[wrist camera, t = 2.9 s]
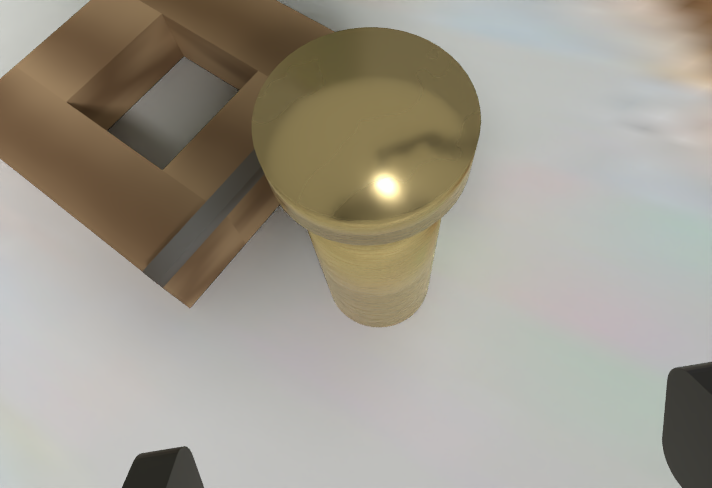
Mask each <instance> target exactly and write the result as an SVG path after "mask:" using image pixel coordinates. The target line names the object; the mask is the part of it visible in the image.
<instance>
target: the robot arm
mask: <svg viewBox="0 0 712 488" xmlns="http://www.w3.org/2000/svg"><path fill="white" fill-rule="evenodd" d="M662 444H663V451H664V455H665V458H666V461H667V464H668V466H669V468H670V470H671V472H672V474H673V476H674V477H675V479H676V480H677V481H678V483H679V484H680V485H681V487H682V488H712V362H708V363H702V364H696V365H689V366H683V367H677V368H674V369H672V370H671V371H670V373H669V375H668V379H667V390H666V401H665V413H664V424H663V436H662ZM122 488H204V486H203V483H202V480H201V478H200V475H199V472H198V469H197V466H196V463H195V461H194V458H193V455H192V453H191V451H190V449H189V448H188V447H185V446H184V447H177V448H171V449H165V450H159V451H153V452H147V453H141V454H139V455H138V456H137V457H136V458H135V460H134V462H133V464H132V466H131V468H130V470H129V473H128V475H127V477H126V480H125V482H124V484H123V487H122Z"/></svg>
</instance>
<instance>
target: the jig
mask: <svg viewBox="0 0 712 488" xmlns="http://www.w3.org/2000/svg"><path fill="white" fill-rule="evenodd" d="M331 33H334V31H332V30H331V29H329V28H327V27H325V26H323V25H321V24H319V23H318V22H316V21H314V20H312V19H310V18H308V17H306V16H305V15H303V14H301V13H299V12H297V11H295V10H293V9H291V8H290V7H288V6H286V5H284V4H282V3H280V2H278V1H277V0H90V1H89V2H88V3H87V4H86V5H85V6H84V7H82V8H81V9H80V10H79V11H78V12H77V13H75V14H74V15H73V16H72V17H71V18H70V19H69V20H67V21H66V22H65V23H64V24H63V25H62V26H61V27H59V28H58V29H57V30H56V31H55V32H54V33H52V34H51V35H50V36H49V37H48V38H47V39H46V40H44V41H43V42H42V43H41V44H40V45H39V46H38V47H36V48H35V49H34V50H33V51H32V52H31V53H29V54H28V55H27V56H26V57H25V58H24V59H23V60H21V61H20V62H19V63H18V64H17V65H16V66H14V67H13V68H12V69H11V70H10V71H9V72H8V73H6V74H5V75H4V76H3V77H2V78H1V79H0V159H1V160H3V161H4V162H5V163H6V164H8V165H9V166H10V167H12V168H13V169H14V170H15V171H17V172H18V173H19V174H20V175H22V176H23V177H24V178H25V179H27V180H28V181H29V182H30V183H32V184H33V185H34V186H35V187H37V188H38V189H39V190H40V191H42V192H43V193H44V194H45V195H47V196H48V197H49V198H50V199H52V200H53V201H54V202H56V203H57V204H58V205H59V206H61V207H62V208H63V209H64V210H66V211H67V212H68V213H69V214H71V215H72V216H73V217H74V218H76V219H77V220H78V221H79V222H81V223H82V224H83V225H84V226H86V227H87V228H88V229H89V230H91V231H92V232H93V233H95V234H96V235H97V236H98V237H100V238H101V239H102V240H103V241H105V242H106V243H107V244H108V245H110V246H111V247H112V248H113V249H115V250H116V251H117V252H118V253H120V254H121V255H122V256H123V257H125V258H126V259H127V260H128V261H130V262H131V263H132V264H133V265H135V266H136V267H137V268H139V269H140V270H141V271H142V272H143V273H144V274H146V275H147V276H148V277H150V278H151V279H152V280H153V281H155V282H156V283H157V284H158V285H160V286H161V287H162V288H164V289H165V290H166V291H168V292H169V293H170V294H172V295H173V296H174V297H176V298H177V299H178V300H180V301H181V302H182V303H184V304H185V305H186V306H188V307H189V308H191V307H192V305H193V304H194V303H195V302H196V301H197V300H198V299H199V297H200V296H201V295H202V294H203V293H204V292H205V290H206V289H207V288H208V287H209V286H210V285H211V283H212V282H213V281H214V280H215V279H216V278H217V276H218V275H219V274H220V273H221V272H222V271H223V270H224V268H225V267H226V266H227V265H228V264H229V263H230V261H231V260H232V259H233V258H234V257H235V256H236V254H237V253H238V252H239V251H240V250H241V249H242V247H243V246H244V245H245V244H246V243H247V242H248V241H249V239H250V238H251V237H252V236H253V235H254V234H255V232H256V231H257V230H258V229H259V228H260V227H261V225H262V224H263V223H264V222H265V221H266V220H267V219H268V217H269V216H270V215H271V214H272V213H273V212H274V210H275V209H276V208H277V207H278V206H279V205H280V203H279V202H278V201H277V199H276V197H275V195H274V193H273V191H272V189H271V187H270V185H269V183H268V180H267V178H266V176H265V174H264V171H263V169H262V167H261V165H260V163H259V160H258V158H257V155H256V152H255V149H254V145H253V139H252V116H253V109H254V106H255V103H256V99H257V96H258V94H259V92H260V90H261V88H262V86H263V84H264V83H265V81H266V80H267V78H268V77H269V75H270V74H271V73H272V71H273V70H274V69H275V68H276V67H277V66H278V65H279V64H280V63H281V62H282V61H283V60H284V59H285V58H286V57H287V56H288V55H290V54H291V53H293V52H294V51H295V50H297V49H298V48H300V47H301V46H303V45H305V44H307V43H308V42H310V41H312V40H315V39H317V38H319V37H322V36H324V35H327V34H331ZM183 57H186V58H188V59H189V60H191V61H192V62H194V63H196V64H197V65H199V66H201V67H202V68H204V69H206V70H207V71H209V72H210V73H212V74H214V75H215V76H217V77H219V78H220V79H222V80H223V81H225V82H227V83H228V84H230V85H232V86H233V87H235V88H236V89H238V90H239V91H238V92H237V93H236V95H235V96H234V97H233V98H232V99H231V100H230V101H229V102H228V103H227V104H226V105H225V106H224V107H223V108H222V109H221V110H220V111H219V112H218V113H217V114H216V115H215V116H214V117H213V118H212V119H211V120H210V121H209V123H208V124H207V125H206V126H205V127H204V128H203V129H202V130H201V131H200V132H199V133H198V134H197V135H196V136H195V137H194V138H193V139H192V140H191V141H190V142H189V143H188V144H187V145H186V146H185V147H184V148H183V149H182V150H181V152H180V153H179V154H178V155H177V156H176V157H175V158H174V159H173V160H172V161H171V162H170V163H169V164H168V165H167V166H166V167H165V168H164V169H163V170H161V169H160V168H159V167H157V166H156V165H154V164H153V163H151V162H150V161H149V160H147V159H146V158H144V157H143V156H142V155H140V154H139V153H137V152H136V151H135V150H133V149H132V148H130V147H129V146H127V145H126V144H125V143H123V142H122V141H120V140H119V139H118V138H116V137H115V136H113V135H112V134H111V133H109V132H108V131H107V130H108V129H109V128H110V127H111V126H112V125H113V124H114V123H115V122H116V121H118V120H119V119H120V118H121V117H122V116H123V115H124V114H125V113H126V112H127V111H128V110H129V109H130V108H131V107H132V106H133V105H134V104H135V103H136V102H137V101H138V100H139V99H140V98H141V97H142V96H143V95H144V94H145V93H146V92H147V91H148V90H149V89H151V88H152V87H153V86H154V85H155V84H156V83H157V82H158V81H159V80H160V79H161V78H162V77H163V76H164V75H165V74H166V73H167V72H168V71H169V70H170V69H171V68H172V67H173V66H174V65H175V64H176V63H177V62H178V61H179V60H180V59H181V58H183Z"/></svg>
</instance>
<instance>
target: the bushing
mask: <svg viewBox="0 0 712 488" xmlns="http://www.w3.org/2000/svg"><path fill="white" fill-rule="evenodd" d="M480 126H481V113H480V106H479V101H478V96H477V94H476V91H475V88H474V86H473V84H472V82H471V80H470V78H469V77H468V75H467V73H466V72H465V71H464V70H463V68H462V67H461V66H460V64H459V63H458V62H457V61H456V60H455V59H454V58H453V57H452V56H451V55H449V54H448V53H447V52H445V51H444V50H443V49H442V48H440V47H439V46H437V45H435V44H433V43H432V42H430V41H428V40H426V39H424V38H421V37H419V36H417V35H414V34H411V33H407V32H404V31H400V30H394V29H389V28H378V27H364V28H354V29H347V30H342V31H337V32H334V33H331V34H327V35H324V36H322V37H319V38H317V39H315V40H312V41H310V42H308V43H307V44H305V45H303V46H301V47H300V48H298V49H297V50H295V51H294V52H293V53H291V54H290V55H288V56H287V57H286V58H285V59H284V60H283V61H282V62H281V63H280V64H279V65H278V66H277V67H276V68H275V69H274V70H273V71H272V73H271V74H270V75H269V77H268V78H267V80H266V81H265V83H264V84H263V86H262V88H261V90H260V92H259V94H258V96H257V99H256V103H255V106H254V109H253V116H252V139H253V145H254V149H255V152H256V155H257V158H258V160H259V163H260V165H261V167H262V169H263V171H264V174H265V176H266V178H267V180H268V183H269V185H270V187H271V189H272V191H273V193H274V195H275V197H276V199H277V201H278V202H279V203H280V205H281V206H282V208H283V209H284V210H285V211H286V212H287V213H288V215H289V216H290V217H291V218H292V219H293V220H295V221H296V222H297V223H298V224H300V225H301V226H302V227H304V228H305V229H307V230H308V233H309V235H310V238H311V241H312V243H313V246H314V249H315V251H316V254H317V257H318V259H319V262H320V265H321V267H322V270H323V273H324V275H325V278H326V281H327V283H328V286H329V289H330V291H331V294H332V297H333V299H334V301H335V303H336V305H337V306H338V307H339V309H340V310H341V311H342V312H343V313H344V314H345V315H346V316H347V317H349V318H350V319H352V320H353V321H355V322H357V323H359V324H362V325H366V326H370V327H387V326H392V325H395V324H398V323H400V322H402V321H404V320H406V319H407V318H409V317H410V316H412V315H413V314H414V313H415V312H416V311H417V310H418V308H419V307H420V306H421V304H422V302H423V301H424V299H425V296H426V293H427V290H428V285H429V280H430V274H431V269H432V264H433V259H434V253H435V248H436V243H437V237H438V232H439V227H440V222H441V218H442V217H443V216H444V215H445V214H446V213H447V212H448V211H449V210H450V209H451V207H452V206H453V205H454V204H455V203H456V201H457V200H458V198H459V196H460V195H461V193H462V192H463V189H464V187H465V185H466V183H467V180H468V177H469V173H470V170H471V166H472V162H473V158H474V154H475V150H476V147H477V143H478V139H479V134H480Z"/></svg>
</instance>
